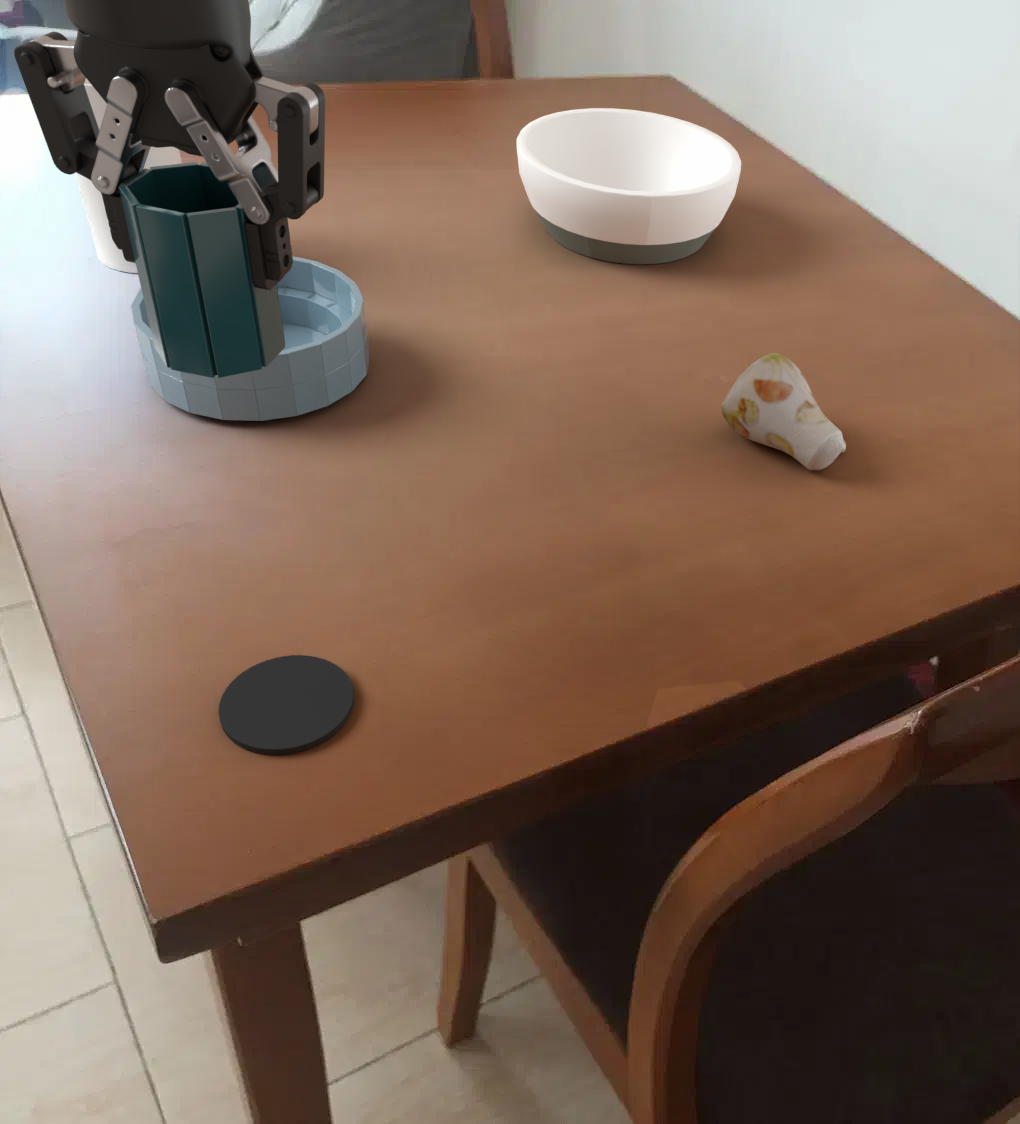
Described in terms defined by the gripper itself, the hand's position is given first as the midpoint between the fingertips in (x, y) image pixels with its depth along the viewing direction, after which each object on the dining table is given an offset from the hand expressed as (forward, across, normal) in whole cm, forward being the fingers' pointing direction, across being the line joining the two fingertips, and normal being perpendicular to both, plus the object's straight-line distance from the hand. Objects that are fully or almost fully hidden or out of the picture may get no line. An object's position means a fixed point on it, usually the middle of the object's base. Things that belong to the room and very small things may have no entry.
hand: (207, 269), depth 59 cm
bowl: (+21, +10, +60) cm, 64 cm away
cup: (+21, -28, +37) cm, 51 cm away
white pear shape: (+21, +31, +25) cm, 45 cm away
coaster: (+21, +6, -10) cm, 24 cm away
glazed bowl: (+21, -11, +22) cm, 32 cm away
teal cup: (+5, 0, 0) cm, 5 cm away
